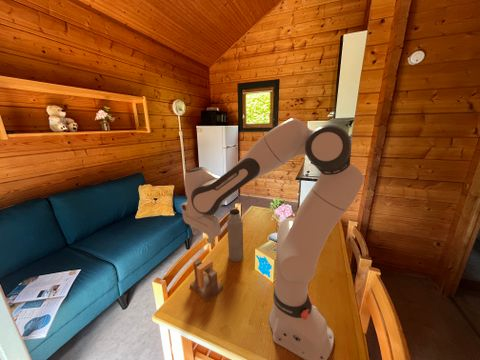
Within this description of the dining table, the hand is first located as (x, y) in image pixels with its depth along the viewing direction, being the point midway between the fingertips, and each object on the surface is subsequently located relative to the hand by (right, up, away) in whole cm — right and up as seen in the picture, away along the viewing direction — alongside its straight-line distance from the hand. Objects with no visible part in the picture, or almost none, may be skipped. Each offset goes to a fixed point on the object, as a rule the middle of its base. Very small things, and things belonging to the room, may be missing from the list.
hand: (202, 238), depth 83 cm
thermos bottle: (+13, -18, +27) cm, 36 cm away
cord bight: (0, -22, +7) cm, 23 cm away
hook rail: (0, -25, +8) cm, 26 cm away
